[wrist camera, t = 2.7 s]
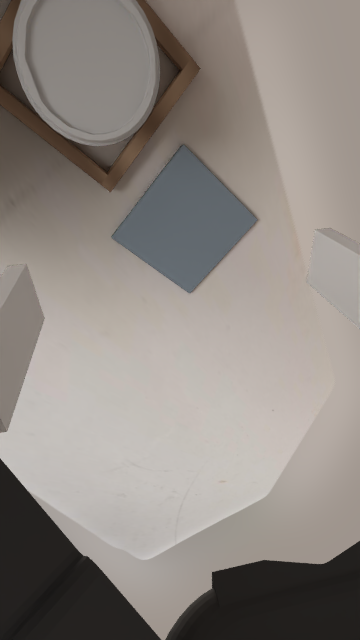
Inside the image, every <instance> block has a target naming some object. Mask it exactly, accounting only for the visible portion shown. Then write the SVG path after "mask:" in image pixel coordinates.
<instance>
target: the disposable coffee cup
mask: <svg viewBox="0 0 360 640" xmlns="http://www.w3.org/2000/svg"><path fill="white" fill-rule="evenodd" d="M12 42H13V57H14V62H15V66H16V71H17V75H18V77H19V80H20V83H21V86H22V88H23V90H24V92H25V94H26V96H27V98H28V100H29V102H30V103H31V105H32V106H33V108H34V109H35V110H36V112H37V113H38V114H39V115H40V116H41V118H42V119H43V120H44V121H45V122H46V123H47V124H48V125H49V126H51V127H52V128H53V129H54V130H55V131H57V132H58V133H60V134H61V135H63V136H65V137H66V138H68V139H71V140H73V141H75V142H78V143H80V144H86V145H91V146H107V145H111V144H115V143H118V142H120V141H122V140H125V139H127V138H129V137H130V136H131V135H132V134H134V133H135V132H136V131H137V130H138V129H139V128H140V127H141V126H142V125H143V124H144V122H145V121H146V119H147V118H148V116H149V114H150V113H151V111H152V108H153V106H154V104H155V101H156V97H157V94H158V89H159V82H160V58H159V53H158V47H157V42H156V39H155V36H154V33H153V30H152V27H151V25H150V23H149V21H148V19H147V17H146V15H145V13H144V11H143V10H142V8H141V7H140V5H139V4H138V2H137V1H136V0H21V2H20V5H19V8H18V11H17V14H16V17H15V20H14V28H13V37H12Z"/></svg>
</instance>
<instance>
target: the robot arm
mask: <svg viewBox="0 0 360 640" xmlns="http://www.w3.org/2000/svg"><path fill="white" fill-rule="evenodd" d="M307 283H308V284H309V285H310V286H311V287H312V288H313V289H315V290H316V291H317V292H318V293H319V294H320V295H322V296H323V297H324V298H325V299H326V300H327V301H328V302H329V303H331V304H332V305H333V306H334V307H335V308H337V310H339V311H340V312H341V313H342V314H343V315H344V316H346V317H347V318H348V319H349V320H350V321H351V322H352V323H354V324H355V325H356V326H357V327H358V328H359V329H360V243H358V242H356V241H354V240H352V239H350V238H348V237H347V236H345V235H343V234H341V233H339V232H337V231H335V230H333V229H331V228H324V229H317V230H315V233H314V239H313V245H312V251H311V258H310V264H309V270H308V276H307ZM43 321H44V315H43V312H42V309H41V306H40V303H39V300H38V297H37V294H36V291H35V288H34V285H33V282H32V279H31V276H30V273H29V270H28V267H27V264H20V265H12V266H7V268H6V269H5V271H4V272H3V274H2V275H1V277H0V433H1V432H7V430H8V427H9V424H10V421H11V418H12V415H13V412H14V409H15V406H16V403H17V400H18V397H19V394H20V391H21V388H22V385H23V382H24V379H25V376H26V373H27V370H28V367H29V364H30V361H31V358H32V355H33V352H34V349H35V346H36V343H37V340H38V337H39V334H40V331H41V328H42V324H43ZM0 640H161V639H160V638H159V637H158V636H157V634H156V633H155V632H154V631H153V630H152V629H151V627H150V626H149V625H148V624H147V623H146V622H145V620H144V619H143V618H142V617H141V616H140V615H139V614H138V612H136V610H135V609H134V608H133V607H132V605H131V604H130V603H129V602H128V601H127V599H126V598H125V597H124V596H123V595H122V594H121V593H120V591H119V590H118V589H117V588H116V587H115V586H114V584H113V583H112V582H111V581H110V580H109V579H108V578H107V576H106V575H105V574H104V573H103V572H102V570H100V568H99V567H98V566H97V565H96V564H95V563H94V562H93V561H92V560H91V559H90V558H89V557H87V556H83V555H82V554H81V553H80V552H79V551H78V550H77V549H76V548H75V547H74V545H73V544H72V543H71V542H70V541H69V539H68V538H67V537H66V536H65V535H64V534H63V532H62V531H61V530H60V529H59V528H58V526H57V525H56V524H55V523H54V522H53V520H52V519H51V518H50V517H49V516H48V515H47V513H46V512H45V511H44V510H43V509H42V508H41V506H40V505H39V504H38V503H37V502H36V500H35V499H34V498H33V497H32V496H31V494H30V493H29V492H28V491H27V490H26V488H25V487H24V486H23V485H22V484H21V483H20V481H19V480H18V479H17V478H16V477H15V475H14V474H13V473H12V472H11V471H10V469H9V468H8V467H7V466H6V465H5V464H4V462H3V461H2V460H1V459H0ZM166 640H360V541H359V542H357V543H356V544H355V545H353V546H351V547H350V548H349V549H347V550H345V551H344V552H342V553H341V554H340V555H338V556H336V557H335V558H333V559H332V560H331V561H329V562H327V563H325V564H308V563H295V562H282V561H269V560H268V561H267V560H263V561H258V562H254V563H250V564H245V565H241V566H237V567H233V568H229V569H224V570H220V571H216V572H212V589H211V590H209V591H207V592H206V593H204V594H203V595H201V596H200V597H199V598H198V599H197V600H195V601H194V602H193V603H192V604H191V605H190V606H189V607H188V608H187V609H186V610H185V611H184V613H183V614H182V615H181V616H180V617H179V619H178V620H177V622H176V623H175V624H174V626H173V627H172V629H171V631H170V632H169V634H168V636H167V638H166Z"/></svg>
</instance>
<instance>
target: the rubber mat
mask: <svg viewBox="0 0 360 640" xmlns="http://www.w3.org/2000/svg"><path fill="white" fill-rule="evenodd" d="M256 221H257V219H256V218H255V217H254V216H253V215H252V214H251V213H250V212H249V211H248V210H247V209H246V207H245V206H244V205H243V204H242V203H241V202H240V201H239V200H238V199H237V198H236V197H235V196H234V195H233V194H232V193H231V192H230V191H229V190H228V189H227V188H226V187H225V186H224V185H223V184H222V183H221V182H220V181H219V180H218V179H217V178H216V177H215V176H214V175H213V174H212V173H211V172H210V171H209V170H208V169H207V168H206V167H205V166H204V165H203V164H202V163H201V162H200V161H199V160H198V159H197V158H196V157H195V156H194V155H193V153H192V152H191V151H190V150H189V149H188V148H187V147H186V146H185V145H184V144H182V146H181V147H180V148H179V150H178V151H177V152H176V153H175V155H174V156H173V157H172V159H171V160H170V161H169V163H168V164H167V165H166V166H165V168H164V169H163V170H162V172H161V173H160V174H159V176H158V177H157V178H156V179H155V181H154V182H153V183H152V185H151V186H150V187H149V189H148V190H147V191H146V192H145V194H144V195H143V196H142V198H141V199H140V200H139V202H138V203H137V204H136V205H135V207H134V208H133V209H132V211H131V212H130V213H129V215H128V216H127V217H126V218H125V220H124V221H123V222H122V224H121V225H120V226H119V228H118V229H117V230H116V231H115V233H114V234H113V235H112V238H113V239H114V240H115V241H117V242H118V243H120V244H121V245H122V246H124V247H125V248H127V249H128V250H129V251H131V252H132V253H134V254H135V255H136V256H138V257H139V258H141V259H142V260H143V261H145V262H146V263H148V264H149V265H150V266H152V267H153V268H155V269H156V270H157V271H159V272H160V273H162V274H163V275H164V276H166V277H167V278H169V279H170V280H171V281H173V282H174V283H176V284H177V285H178V286H180V287H181V288H183V289H184V290H185V291H187V292H188V293H191V292H192V290H193V289H194V288H195V287H196V286H197V285H198V284H199V283H200V282H201V281H202V280H203V279H204V277H205V276H206V275H207V274H208V273H209V272H210V271H211V270H212V269H213V268H214V267H215V266H216V264H217V263H218V262H219V261H220V260H221V259H222V258H223V257H224V256H225V255H226V254H227V253H228V251H229V250H230V249H231V248H232V247H233V246H234V245H235V244H236V243H237V242H238V241H239V240H240V238H241V237H242V236H243V235H244V234H245V233H246V232H247V231H248V230H249V229H250V228H251V227H252V225H253V224H254V223H255V222H256Z"/></svg>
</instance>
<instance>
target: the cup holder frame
mask: <svg viewBox="0 0 360 640" xmlns="http://www.w3.org/2000/svg"><path fill="white" fill-rule="evenodd" d="M136 1H137V2H138V4H139V5H140V7H141V8H142V10H143V11H144V13H145V15H146V17H147V19H148V21H149V23H150V25H151V27H152V30H153V33H154V36H155V39H156V42H157V45H158V46H159V47H160V48H161V49H162V51H163V52H164V53H165V54H166V55H167V56H168V58H169V59H170V60H171V61H172V62H173V63H174V65H175V66H176V67H177V68H178V69H179V70H180V71H179V72H178V74H177V75H176V77H175V78H174V79H173V81H172V82H171V84H170V85H169V86H168V88H167V89H166V91H165V92H164V93H163V95H162V96H161V98H160V99H159V100H158V102H157V103H156V105H155V106H154V108H153V109H152V111H151V113H150V114H149V116H148V118H147V119H146V121H145V122H144V124H143V125H142V126H141V127H140V128H139V129H138V130H137V131H136V133H135V134H134V136H133V137H132V138H131V140H130V141H129V143H128V144H127V145H126V147H125V148H124V150H123V151H122V153H121V154H120V155H119V157H118V158H117V160H116V161H115V162H114V164H113V165H112V167H111V168H110V169H109V171H108V172H106V171H105V170H103V169H102V168H101V167H100V166H98V165H97V164H96V163H95V162H94V161H92V160H91V159H90V158H89V157H88V156H86V155H85V154H84V153H83V152H82V151H80V150H79V149H78V148H77V147H75V146H74V145H73V144H72V143H71V142H69V141H68V140H67V139H66V138H65V137H63V136H62V135H61V134H60V133H58V132H57V131H55V130H54V129H53V128H52V127H51V126H49V125H48V124H47V123H46V122H45V121H44V120H43V119H42V118H40V117H39V116H38V115H37V114H36V113H34V112H33V111H32V110H31V109H29V108H28V107H27V106H26V105H25V104H23V103H22V102H21V101H20V100H19V99H17V98H16V97H15V96H14V95H13V94H11V93H10V92H9V91H8V90H6V89H5V88H4V87H3V86H2V85H0V105H1V106H3V107H4V108H5V109H6V110H8V111H9V112H10V113H11V114H13V115H14V116H15V117H16V118H18V119H19V120H20V121H21V122H23V123H24V124H25V125H26V126H28V127H29V128H30V129H31V130H33V131H34V132H35V133H37V134H38V135H39V136H40V137H42V138H43V139H44V140H45V141H47V142H48V143H49V144H50V145H52V146H53V147H54V148H55V149H57V150H58V151H59V152H60V153H62V154H63V155H64V156H65V157H67V158H68V159H69V160H70V161H72V162H73V163H74V164H76V165H77V166H78V167H79V168H81V169H82V170H83V171H84V172H86V173H87V174H88V175H89V176H91V177H92V178H93V179H94V180H96V181H97V182H98V183H99V184H101V185H102V186H103V187H104V188H106V189H107V190H108V191H109V192H111V191H112V189H113V188H114V187H115V185H116V184H117V183H118V181H119V180H120V178H121V177H122V176H123V174H124V173H125V172H126V170H127V169H128V167H129V166H130V165H131V163H132V162H133V161H134V159H135V158H136V157H137V155H138V154H139V152H140V151H141V150H142V148H143V147H144V146H145V144H146V143H147V141H148V140H149V139H150V137H151V136H152V135H153V133H154V132H155V130H156V129H157V128H158V126H159V125H160V124H161V122H162V121H163V120H164V118H165V117H166V115H167V114H168V113H169V111H170V110H171V109H172V107H173V106H174V104H175V103H176V102H177V100H178V99H179V98H180V96H181V95H182V93H183V92H184V91H185V89H186V88H187V87H188V85H189V84H190V83H191V81H192V80H193V78H194V77H195V76H196V74H197V73H198V72H199V70H200V67H199V66H198V65H197V64H196V62H195V61H194V60H193V59H192V58H191V56H190V55H189V54H188V53H187V51H186V50H185V49H184V48H183V47H182V45H181V44H180V43H179V42H178V40H177V39H176V38H175V37H174V36H173V34H172V33H171V32H170V31H169V29H168V28H167V27H166V26H165V25H164V23H163V22H162V21H161V20H160V18H159V17H158V16H157V15H156V14H155V12H154V11H153V10H152V9H151V7H150V6H149V5H148V4H147V3H146V1H145V0H136ZM20 2H21V0H11V2H10V4H9V6H8V8H7V10H6V12H5V14H4V16H3V18H2V19H1V21H0V71H1V69H2V67H3V65H4V63H5V62H6V60H7V58H8V56H9V54H10V52H11V50H12V48H13V42H12V37H13V28H14V20H15V17H16V14H17V11H18V8H19V5H20Z"/></svg>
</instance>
